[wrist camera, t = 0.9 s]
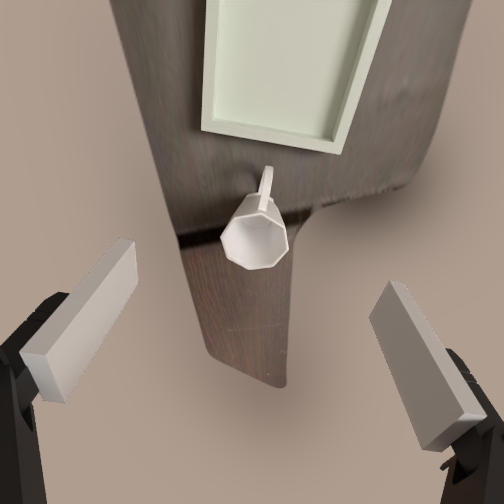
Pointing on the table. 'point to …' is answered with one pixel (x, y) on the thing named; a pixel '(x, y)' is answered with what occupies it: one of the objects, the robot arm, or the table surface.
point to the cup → (256, 229)
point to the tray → (288, 68)
